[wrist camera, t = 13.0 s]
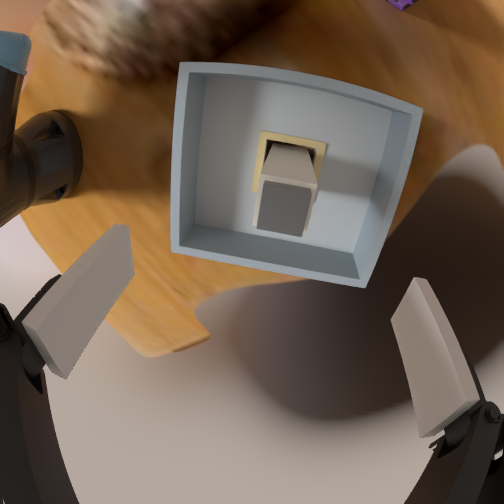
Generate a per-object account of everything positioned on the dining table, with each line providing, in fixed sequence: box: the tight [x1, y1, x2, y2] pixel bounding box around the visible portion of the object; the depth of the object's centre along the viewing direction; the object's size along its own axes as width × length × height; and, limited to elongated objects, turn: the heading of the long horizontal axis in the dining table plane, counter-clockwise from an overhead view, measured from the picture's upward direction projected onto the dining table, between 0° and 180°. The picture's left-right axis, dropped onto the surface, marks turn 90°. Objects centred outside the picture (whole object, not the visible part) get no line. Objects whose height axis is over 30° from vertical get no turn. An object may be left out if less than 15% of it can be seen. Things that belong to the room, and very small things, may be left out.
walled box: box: [171, 62, 423, 288], centre depth 28 cm, size 22×20×8 cm
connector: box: [252, 143, 318, 237], centre depth 25 cm, size 4×4×15 cm
